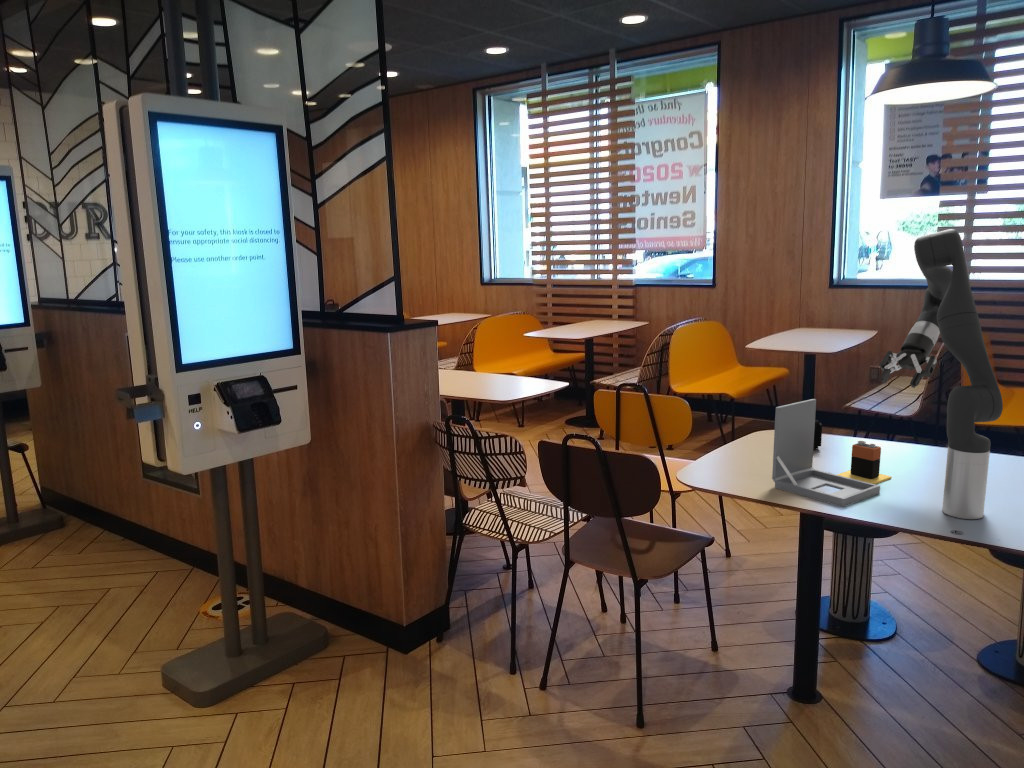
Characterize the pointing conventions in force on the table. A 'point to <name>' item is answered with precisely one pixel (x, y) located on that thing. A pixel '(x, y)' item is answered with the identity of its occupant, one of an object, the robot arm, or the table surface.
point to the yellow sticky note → (872, 481)
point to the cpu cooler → (817, 434)
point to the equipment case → (808, 459)
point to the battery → (865, 460)
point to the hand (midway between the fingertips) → (897, 383)
